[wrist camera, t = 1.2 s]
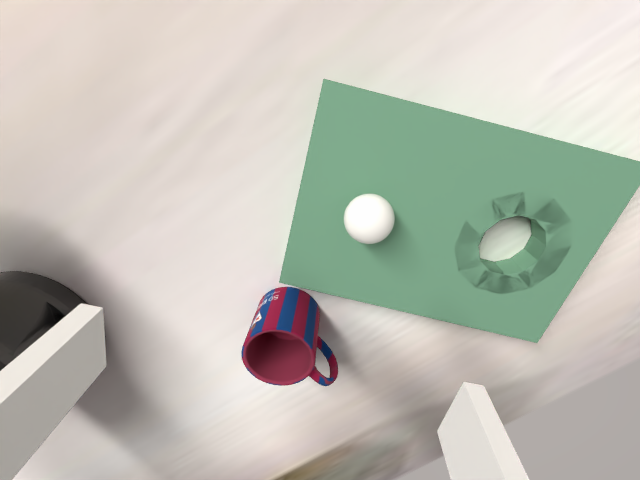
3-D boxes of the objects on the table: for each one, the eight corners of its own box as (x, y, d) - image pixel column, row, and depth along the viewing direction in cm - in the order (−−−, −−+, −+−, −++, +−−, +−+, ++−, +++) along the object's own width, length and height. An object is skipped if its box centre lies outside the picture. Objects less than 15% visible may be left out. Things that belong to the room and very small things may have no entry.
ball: (338, 226, 30) (337, 245, 26) (350, 182, 28) (352, 196, 24) (382, 237, 30) (388, 257, 26) (397, 194, 28) (405, 210, 25)
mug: (287, 274, 35) (275, 315, 29) (353, 332, 38) (355, 381, 31) (245, 311, 37) (226, 355, 31) (310, 363, 40) (304, 415, 34)
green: (283, 269, 35) (279, 282, 32) (325, 79, 27) (323, 78, 25) (524, 326, 36) (537, 342, 34) (627, 158, 28) (652, 164, 26)
